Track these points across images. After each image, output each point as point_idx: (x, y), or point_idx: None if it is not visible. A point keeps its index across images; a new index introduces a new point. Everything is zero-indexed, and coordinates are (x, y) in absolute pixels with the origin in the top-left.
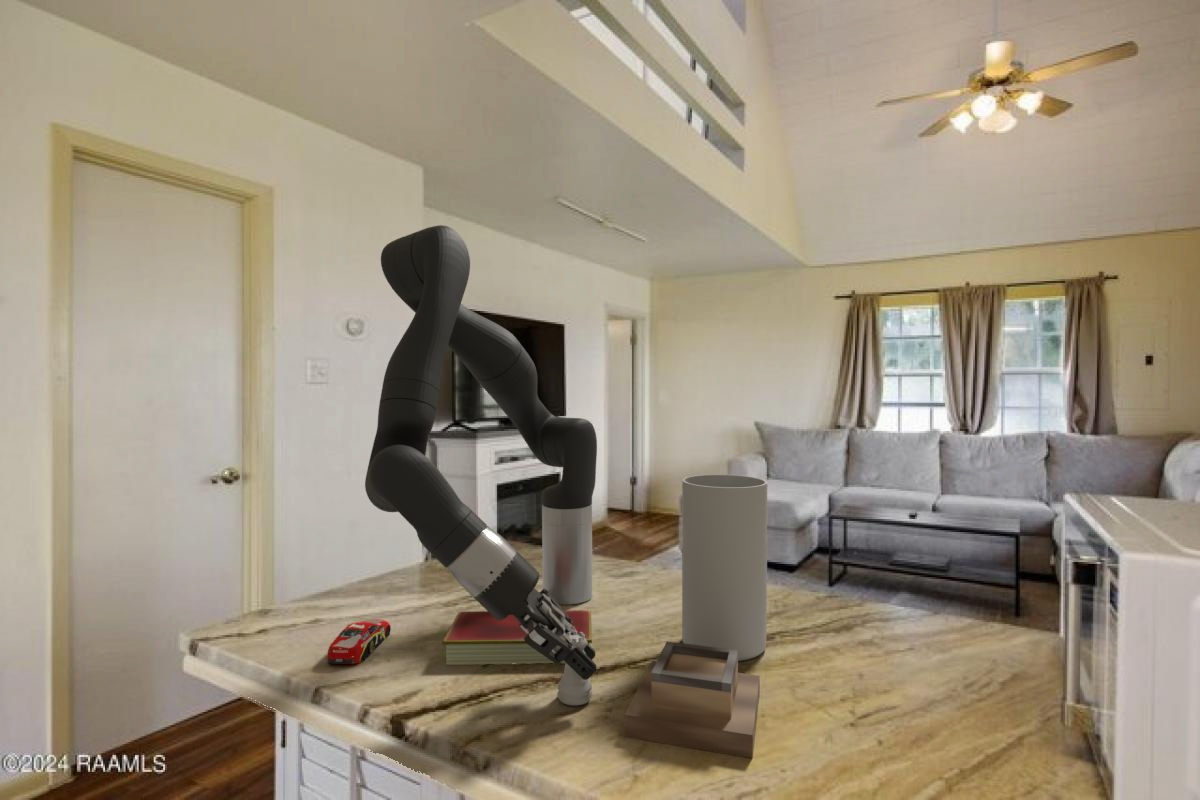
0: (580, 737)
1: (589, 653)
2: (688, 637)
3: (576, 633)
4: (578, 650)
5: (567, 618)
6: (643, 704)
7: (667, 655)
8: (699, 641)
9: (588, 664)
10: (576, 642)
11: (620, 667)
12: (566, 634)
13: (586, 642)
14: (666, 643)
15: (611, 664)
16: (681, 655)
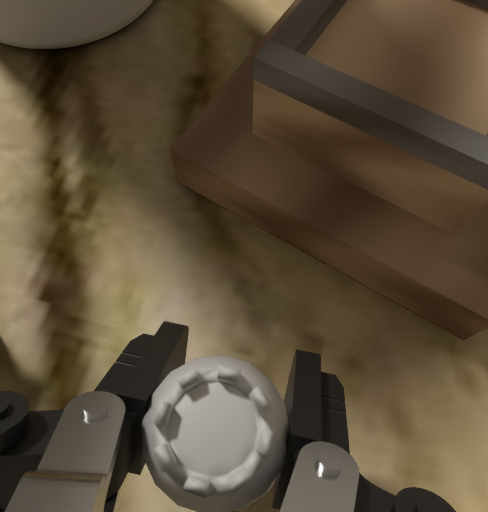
0: (457, 474)
1: (180, 350)
2: (48, 19)
3: (170, 405)
4: (320, 431)
5: (1, 431)
6: (438, 251)
7: (374, 88)
8: (93, 4)
9: (324, 388)
10: (268, 429)
11: (70, 241)
12: (287, 507)
13: (246, 366)
14: (272, 63)
15: (38, 261)
16: (313, 56)
